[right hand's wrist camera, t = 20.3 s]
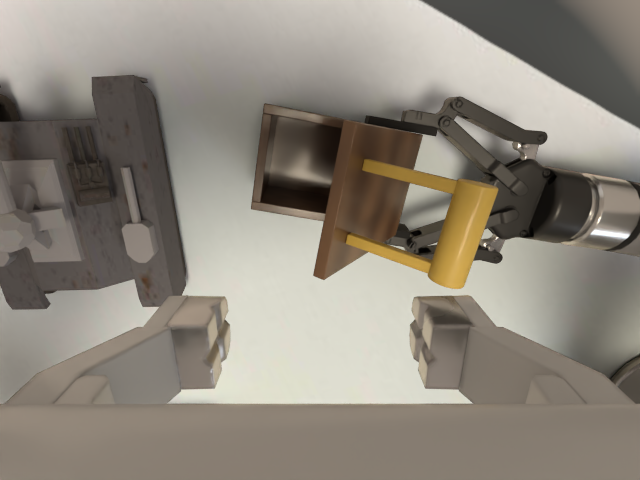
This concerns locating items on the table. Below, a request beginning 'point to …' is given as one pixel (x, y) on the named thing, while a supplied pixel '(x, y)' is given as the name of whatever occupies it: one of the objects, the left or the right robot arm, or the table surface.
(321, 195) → the chest
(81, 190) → the toy
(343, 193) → the lid
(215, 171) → the table surface
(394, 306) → the table surface
